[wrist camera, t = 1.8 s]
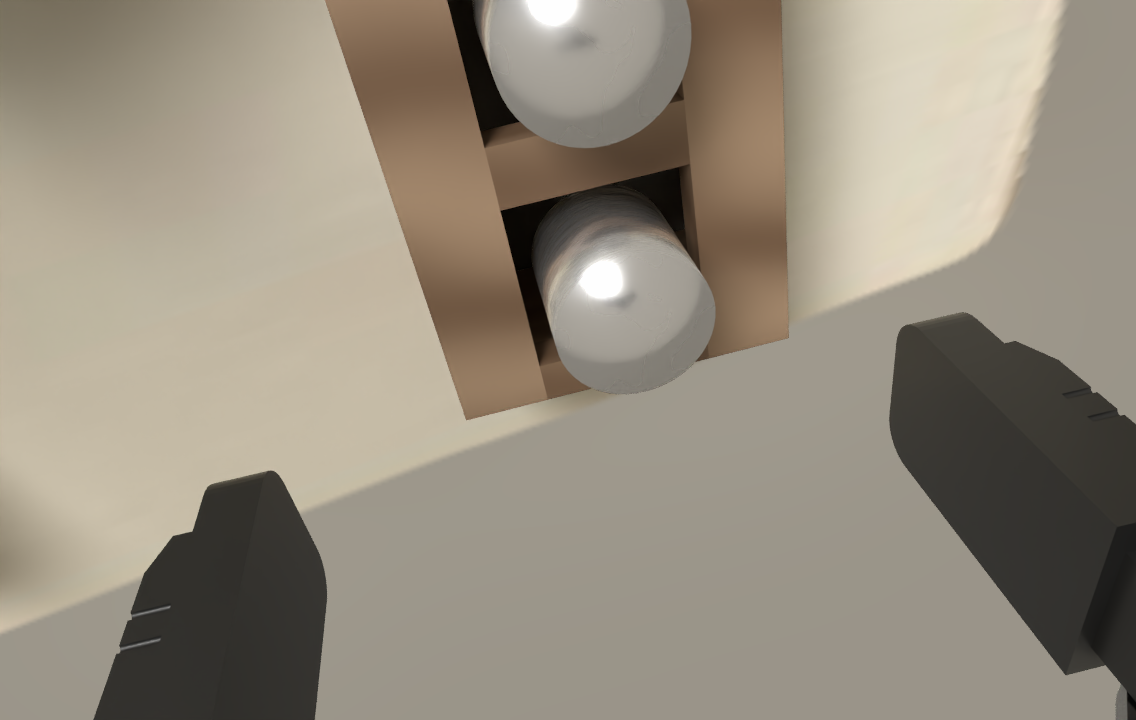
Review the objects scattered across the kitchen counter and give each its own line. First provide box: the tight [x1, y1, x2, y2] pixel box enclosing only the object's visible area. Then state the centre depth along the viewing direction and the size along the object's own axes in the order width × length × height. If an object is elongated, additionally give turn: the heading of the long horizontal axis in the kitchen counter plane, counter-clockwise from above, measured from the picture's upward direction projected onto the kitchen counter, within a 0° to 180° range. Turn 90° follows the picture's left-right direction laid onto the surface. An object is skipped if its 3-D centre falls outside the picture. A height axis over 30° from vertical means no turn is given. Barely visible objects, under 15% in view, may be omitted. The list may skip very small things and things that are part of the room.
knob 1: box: [531, 184, 716, 394], centre depth 25 cm, size 5×5×5 cm
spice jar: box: [472, 0, 691, 148], centre depth 21 cm, size 5×5×5 cm
